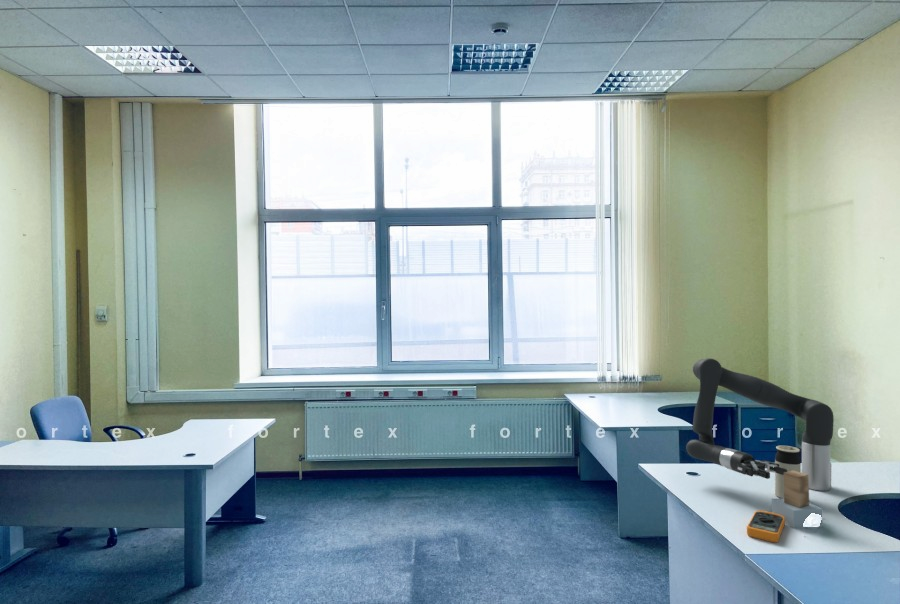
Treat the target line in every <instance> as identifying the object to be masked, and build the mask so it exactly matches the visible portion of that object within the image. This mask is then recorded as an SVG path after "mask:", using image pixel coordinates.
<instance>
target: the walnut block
mask: <svg viewBox="0 0 900 604" xmlns="http://www.w3.org/2000/svg"><path fill="white" fill-rule="evenodd" d="M784 503H786V504H789V505H792V506H795V507H798V508H801V507H805V506H808V505H809V503H810V489H809V477H808V474H805V473H802V471H801V472H797V471H794V470H793V471H788V472H784Z"/></svg>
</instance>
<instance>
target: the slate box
mask: <svg viewBox="0 0 900 604" xmlns="http://www.w3.org/2000/svg"><path fill="white" fill-rule="evenodd" d="M823 511H824V510H823V508H821V507H819V506H817V505H816V504H813V503H811V502H809V505H808V506H805V507H801V508H798V507H795V506H792V505H789V504H786V503H784V498H780V497H778V498H772V499H771V512H772V513H776V514H779V515H782V516H783V517H784V518H785V524H786V525H787V526H789V527H790V528H792V529H804V528H803V523H804V521H805V519H806V518H807V517H808V516H809V515H810V514H811V513H815V514H819V515H821V517H822V518H823ZM819 528H823V519H822V520H821V523H820V527H819Z"/></svg>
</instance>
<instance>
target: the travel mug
mask: <svg viewBox="0 0 900 604" xmlns="http://www.w3.org/2000/svg"><path fill="white" fill-rule="evenodd" d="M775 448H776V451H777V452H776V454H775V456H774V463H777V464H779V467H781V468H784V469H787V472H788V471H793V470H794V471H797V472H801V473H802V457H800V455H799V454H800V452H801V449H800V448H798V447H794V446H791V445H777V446H775ZM774 495H775V496H776V497H778V498H784V475H781V474H778V473H774Z"/></svg>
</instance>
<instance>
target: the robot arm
mask: <svg viewBox="0 0 900 604" xmlns="http://www.w3.org/2000/svg"><path fill="white" fill-rule="evenodd" d="M692 372H693V374H694V376H695V378H696V379H698V380H699V393H698V398H697V400H696V404H695V407H694V412H693V421H692V431H693V432H694V433H696V434H698V439H690V440H689V441H688V442H687V443H686V445H685V449H686V452H687V454H688V455H689V456H690V457H692V458H694V459H697V460H701V461H705V462H710V463H713V464H716V465H718V466H720V467H724V468H726V469H728V470H731V471H733V472H735V473H736V472H737V473H739V474H742V475H744V476H750V477H760V478H763V479H767V480H768V479H769V480H770V479H771V473H774V474H775V473H778V474H781V475H784V472H787V469H784V468H781V467H779V464H777V463H775V462H772V461H769V460H766V459H762V460H759V459H758V460H757V459H754V456H753V455H751V454H750V453H747V452H744V451H740V450H738V449H737V450H736V449H733V448H729V447H725V446H722V445H718V444H717V445H716V444H715V441H714V434H713V422H714V412H715V403H716V399H717V398H716V397H717V393H718V387H722V388H725V389H727V390H729V391H731V392H733V393H735V394H737V395H739V396H741V397H743V398H746V399H747V400H748V399H749V400H751V401H753V402H755V403H758V404H760V405H764V406H766V407H770V408H775V409H778V410H782V411H785V412H788V413H789V414H792V415H794V416H796V417H798V418H800V419H802V420H803V421H804V422H805V431H804V432H803V433H802V434H801V473H805V474H808V477H809V490H815V491H822V492H823V491H824V492H825V491H830V490H831V488H832V462H831V440H832V438H833V436H834V411H833V410H832V408H831V407H830V406H829V405H828V404H825V403H824V402H822V401H818V400H815V399H812V398H807V397H805V396H802V395H801V396H800V395H797V394H796V393H795V394H794V393H792V392H790V391H787V390H785V388H782V387H780V386H778V385H776V384H774V383H772V382H771V381H767V380H764V379H763V378H759V377H756V376H753V375H749V374H745V373H741V372H736V371H732V370H729V369H727V368H725V367H723V366H722V365H721V363H720V362H719V361H718V360H717V359H715V358H703V359H702V358H700V359H699V360H697V361H696V362H695V363H694V364H693V365H692Z"/></svg>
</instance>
